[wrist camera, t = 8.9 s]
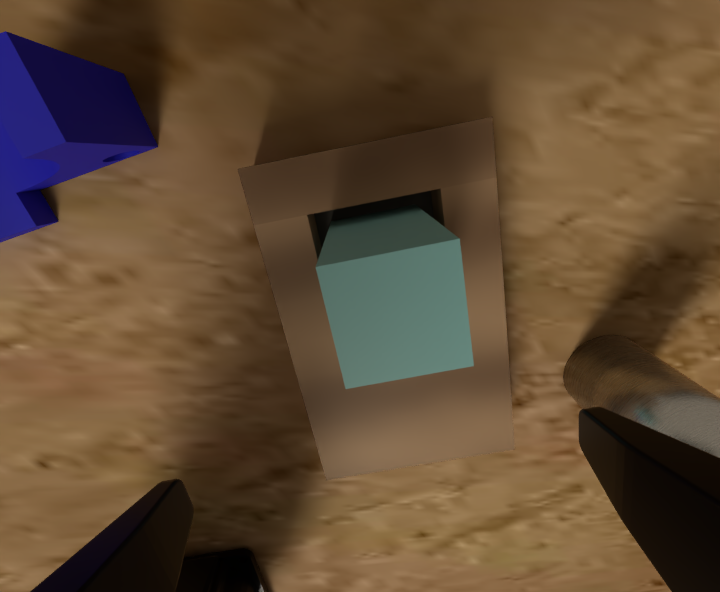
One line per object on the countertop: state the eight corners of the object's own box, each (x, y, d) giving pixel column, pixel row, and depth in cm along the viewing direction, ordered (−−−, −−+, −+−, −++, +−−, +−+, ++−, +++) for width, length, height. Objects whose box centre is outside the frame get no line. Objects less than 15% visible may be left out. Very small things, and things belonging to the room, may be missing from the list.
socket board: (497, 418, 22) (514, 449, 20) (329, 447, 23) (326, 480, 21) (473, 122, 17) (492, 116, 15) (253, 167, 17) (237, 168, 15)
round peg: (641, 397, 22) (790, 521, 15) (563, 410, 22) (671, 539, 15) (645, 328, 21) (814, 427, 13) (562, 342, 21) (681, 448, 13)
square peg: (426, 284, 19) (474, 365, 12) (348, 299, 20) (345, 389, 12) (415, 204, 18) (459, 238, 10) (331, 221, 18) (315, 267, 11)
